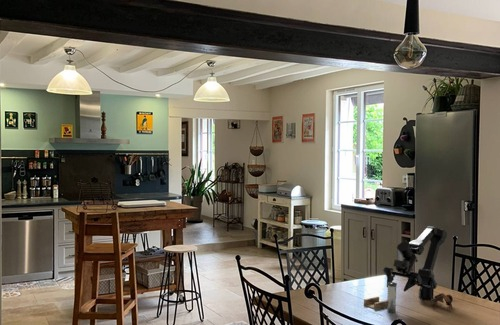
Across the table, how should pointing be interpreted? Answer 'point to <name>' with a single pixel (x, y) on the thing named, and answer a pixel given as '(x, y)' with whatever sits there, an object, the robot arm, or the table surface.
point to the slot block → (375, 303)
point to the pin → (391, 297)
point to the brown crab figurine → (440, 298)
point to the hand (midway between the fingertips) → (395, 289)
